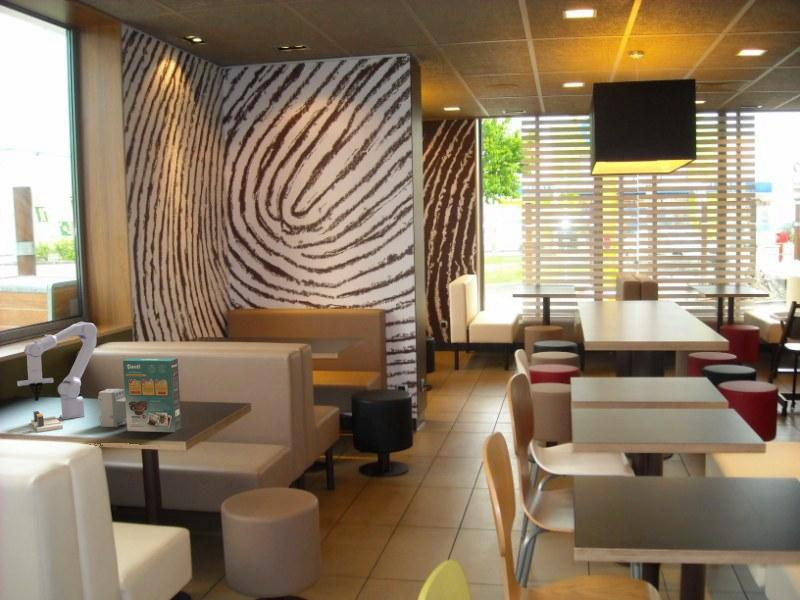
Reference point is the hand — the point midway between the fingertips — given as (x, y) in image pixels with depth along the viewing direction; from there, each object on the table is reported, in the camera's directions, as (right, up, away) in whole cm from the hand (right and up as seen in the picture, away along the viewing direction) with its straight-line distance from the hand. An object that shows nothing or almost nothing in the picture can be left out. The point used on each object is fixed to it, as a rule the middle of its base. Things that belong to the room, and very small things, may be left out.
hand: (36, 400), depth 377 cm
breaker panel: (+6, -11, -4) cm, 13 cm away
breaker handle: (+6, -9, -10) cm, 15 cm away
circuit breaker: (+39, -10, -6) cm, 41 cm away
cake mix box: (+57, -11, -17) cm, 61 cm away
